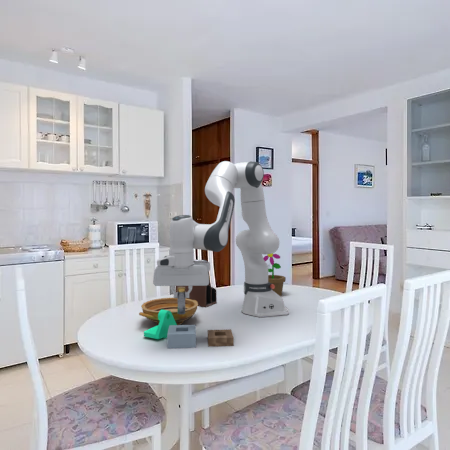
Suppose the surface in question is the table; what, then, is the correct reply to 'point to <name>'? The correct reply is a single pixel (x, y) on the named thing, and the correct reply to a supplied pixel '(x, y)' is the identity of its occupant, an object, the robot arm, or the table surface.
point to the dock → (181, 336)
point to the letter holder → (202, 295)
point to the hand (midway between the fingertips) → (181, 297)
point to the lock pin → (181, 300)
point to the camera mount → (161, 325)
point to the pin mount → (220, 338)
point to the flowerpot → (275, 279)
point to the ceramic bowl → (169, 304)
